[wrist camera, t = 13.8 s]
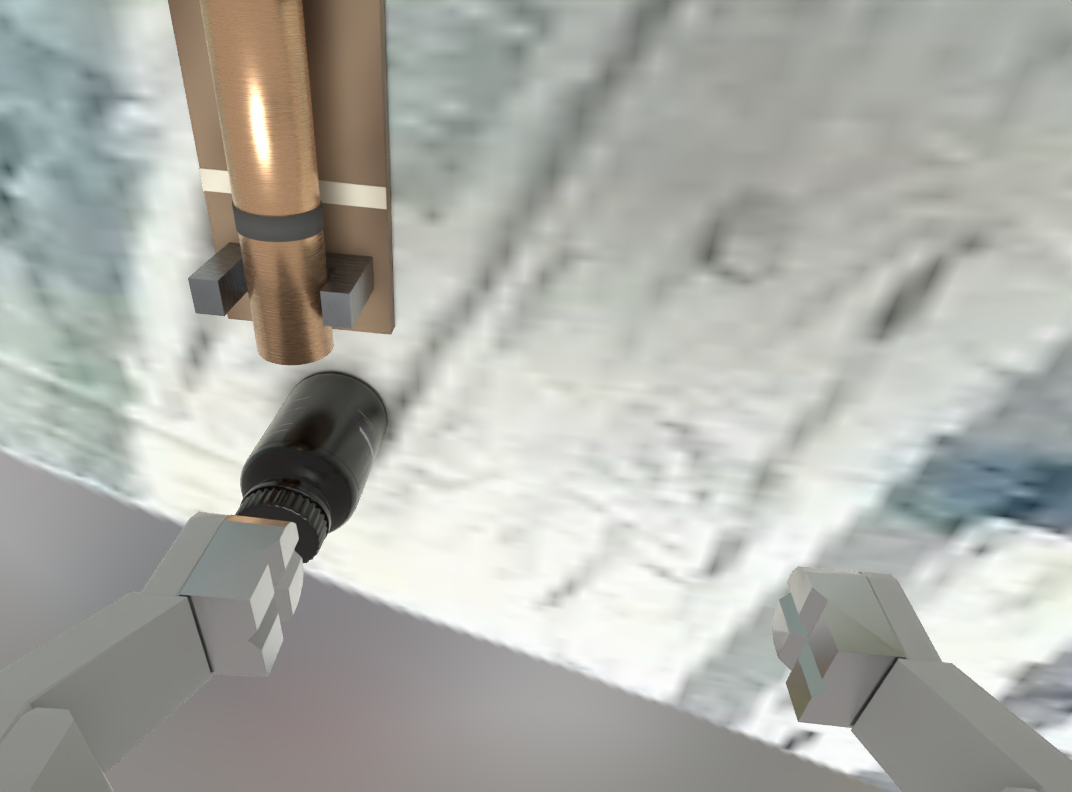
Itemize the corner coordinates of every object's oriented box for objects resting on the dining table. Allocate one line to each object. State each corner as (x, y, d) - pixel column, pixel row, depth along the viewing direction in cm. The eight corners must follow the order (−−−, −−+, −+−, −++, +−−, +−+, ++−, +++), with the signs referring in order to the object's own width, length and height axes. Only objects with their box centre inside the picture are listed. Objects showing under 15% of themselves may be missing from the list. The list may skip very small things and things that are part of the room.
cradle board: (379, -170, 28) (372, -174, 27) (394, 326, 41) (390, 335, 41) (142, -197, 28) (128, -203, 27) (235, 311, 41) (227, 319, 40)
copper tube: (174, -171, 25) (161, -184, 22) (287, -154, 27) (290, -164, 23) (256, 331, 38) (255, 369, 34) (331, 326, 39) (337, 361, 36)
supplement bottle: (409, 414, 45) (366, 544, 35) (347, 464, 48) (291, 598, 38) (329, 349, 43) (258, 470, 33) (269, 406, 45) (186, 534, 35)
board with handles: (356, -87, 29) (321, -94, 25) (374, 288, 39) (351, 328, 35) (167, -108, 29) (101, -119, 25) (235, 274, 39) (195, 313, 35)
